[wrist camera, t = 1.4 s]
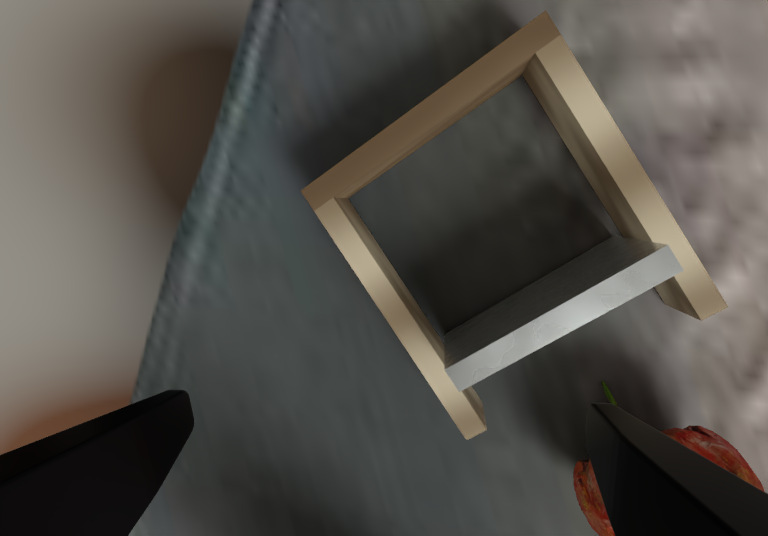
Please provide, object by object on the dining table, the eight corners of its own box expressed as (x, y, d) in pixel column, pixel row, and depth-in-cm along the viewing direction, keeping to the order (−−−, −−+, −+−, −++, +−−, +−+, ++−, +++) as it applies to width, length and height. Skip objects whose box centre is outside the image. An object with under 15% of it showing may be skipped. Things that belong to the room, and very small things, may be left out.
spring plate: (626, 254, 20) (683, 270, 16) (455, 351, 23) (458, 392, 18) (614, 235, 20) (668, 244, 15) (444, 334, 22) (444, 369, 18)
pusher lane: (687, 292, 20) (728, 306, 18) (463, 410, 23) (466, 440, 20) (530, 39, 20) (545, 10, 17) (319, 192, 23) (300, 190, 20)
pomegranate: (530, 406, 25) (601, 610, 20) (551, 377, 19) (662, 663, 14) (650, 381, 24) (755, 584, 19) (713, 342, 18) (892, 627, 13)
